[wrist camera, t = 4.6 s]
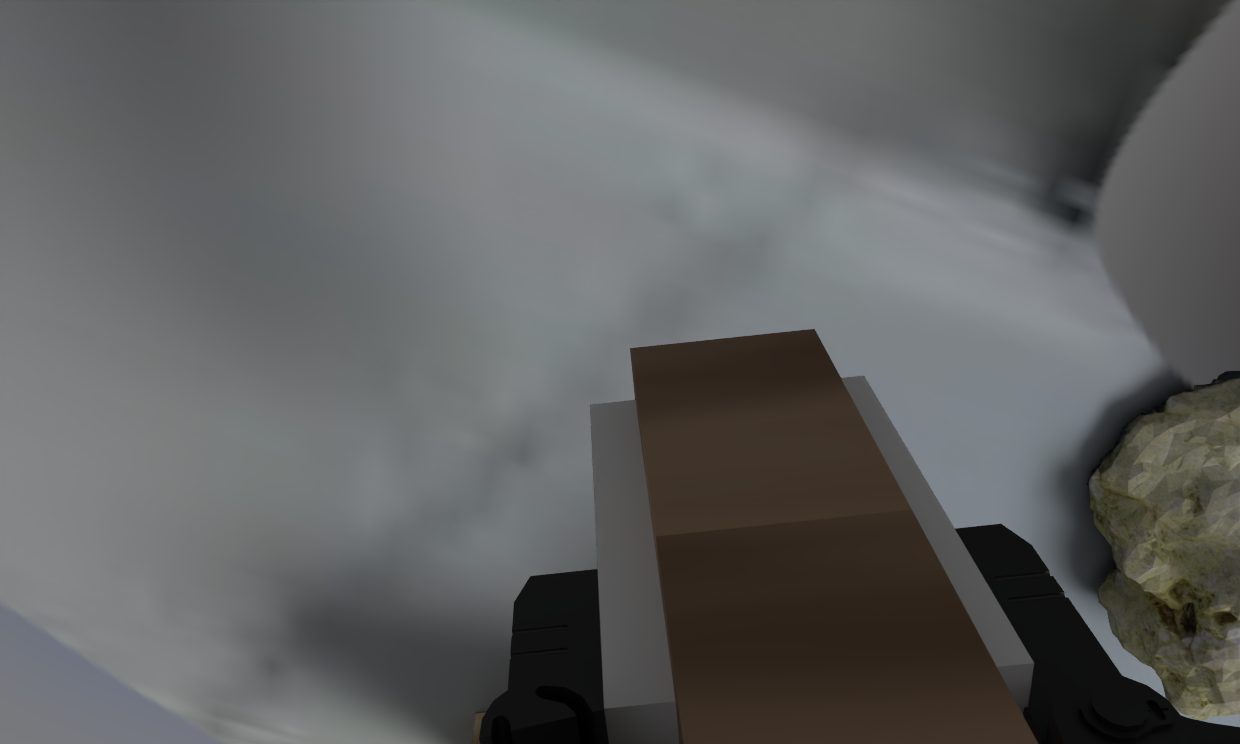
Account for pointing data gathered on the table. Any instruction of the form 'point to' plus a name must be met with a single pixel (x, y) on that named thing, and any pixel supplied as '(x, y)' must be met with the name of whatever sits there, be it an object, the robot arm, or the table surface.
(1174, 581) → the rock
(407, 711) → the table surface
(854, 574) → the walnut plate
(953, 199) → the table surface
